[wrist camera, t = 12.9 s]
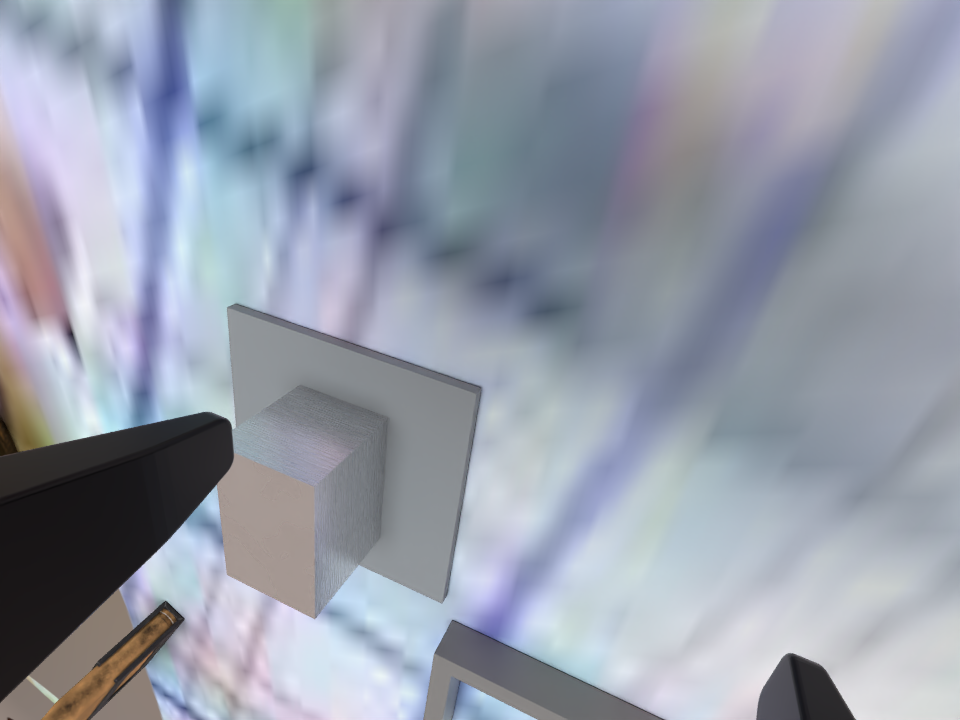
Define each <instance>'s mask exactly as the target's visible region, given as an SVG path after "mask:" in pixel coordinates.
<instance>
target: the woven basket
mask: <svg viewBox="0 0 960 720" xmlns="http://www.w3.org/2000/svg"><path fill="white" fill-rule="evenodd" d="M13 453H17V451H16V448H15V445H14V443H13V441H12V439H11V436H10V434H9V432H8V430H7V428H6V427H5V425H4V423H3V421H2V420H1V418H0V456H4V455H9V454H13Z"/></svg>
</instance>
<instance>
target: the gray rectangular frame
mask: <svg viewBox="0 0 960 720" xmlns="http://www.w3.org/2000/svg"><path fill="white" fill-rule="evenodd" d="M460 681H462V682H464V683H466V684H468V685H470V686H472V687H474V688H476V689H478V690H480V691H482V692H484V693H486V694H488V695H490V696H492V697H494V698H496V699H498V700H500V701H502V702H504V703H506V704H508V705H510V706H512V707H514V708H516V709H518V710H520V711H522V712H524V713H526V714H528V715H530V716H532V717H534V718H536V719H538V720H662V719H660V718H658V717H656V716H654V715H652V714H650V713H647V712H645V711H643V710H641V709H639V708H637V707H635V706H633V705H631V704H628V703H626V702H624V701H622V700H620V699H618V698H616V697H614V696H611V695H609V694H607V693H605V692H603V691H601V690H599V689H597V688H595V687H592V686H590V685H588V684H586V683H584V682H582V681H580V680H578V679H576V678H573V677H571V676H569V675H567V674H565V673H563V672H561V671H559V670H556V669H554V668H552V667H550V666H548V665H546V664H544V663H542V662H540V661H537V660H535V659H533V658H531V657H529V656H527V655H525V654H523V653H521V652H518V651H516V650H514V649H512V648H510V647H508V646H506V645H504V644H501V643H499V642H497V641H495V640H493V639H491V638H489V637H487V636H485V635H482V634H480V633H478V632H476V631H474V630H472V629H470V628H468V627H466V626H463V625H461V624H459V623H457V622H455V621H453V620H452V622H451V624H450V625H449V627H448V629H447V631H446V633H445V635H444V636H443V638H442V640H441V642H440V644H439V646H438V647H437V649H436V651H435V653H434V658H433V664H432V670H431V676H430V683H429V689H428V695H427V701H426V707H425V713H424V719H423V720H452V717H453V712H454V707H455V702H456V697H457V693H458V688H459V683H460Z"/></svg>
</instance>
